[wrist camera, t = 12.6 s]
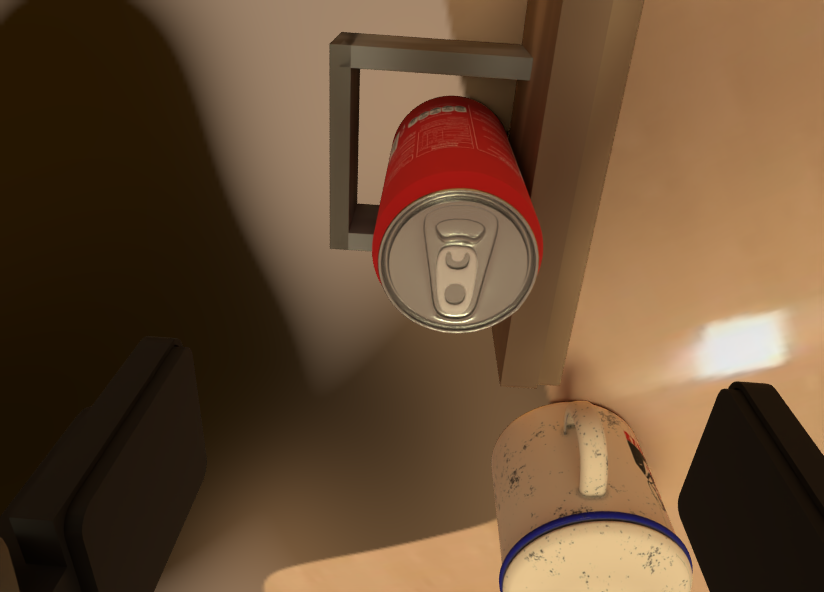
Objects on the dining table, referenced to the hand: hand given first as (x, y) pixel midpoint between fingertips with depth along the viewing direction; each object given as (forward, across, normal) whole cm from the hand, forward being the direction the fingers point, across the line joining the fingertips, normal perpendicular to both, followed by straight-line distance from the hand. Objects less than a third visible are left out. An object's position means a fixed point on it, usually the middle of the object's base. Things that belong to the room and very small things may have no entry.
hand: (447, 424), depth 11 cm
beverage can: (+20, 0, +1) cm, 20 cm away
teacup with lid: (+20, -8, +17) cm, 28 cm away
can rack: (+20, 0, 0) cm, 20 cm away
